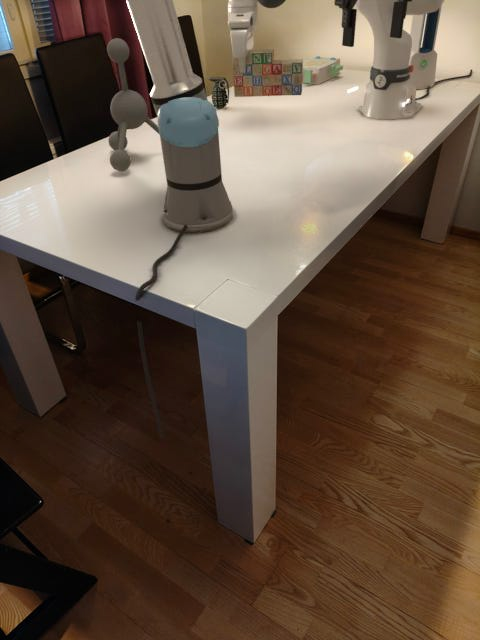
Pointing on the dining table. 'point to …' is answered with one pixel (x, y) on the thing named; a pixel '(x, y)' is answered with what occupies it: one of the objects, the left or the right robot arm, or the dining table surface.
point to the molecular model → (124, 109)
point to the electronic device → (424, 49)
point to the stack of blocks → (267, 75)
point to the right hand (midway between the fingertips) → (244, 69)
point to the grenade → (219, 92)
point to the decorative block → (320, 69)
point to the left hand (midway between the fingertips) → (372, 41)
